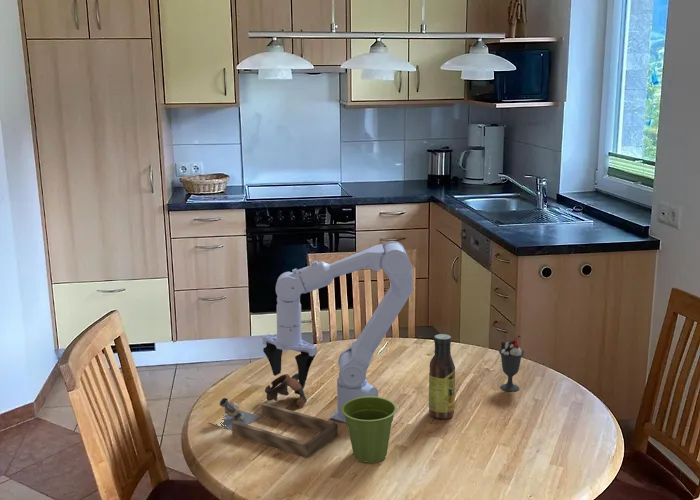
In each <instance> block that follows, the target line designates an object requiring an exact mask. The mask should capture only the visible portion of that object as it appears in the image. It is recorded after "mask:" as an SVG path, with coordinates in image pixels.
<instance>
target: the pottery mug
mask: <svg viewBox="0 0 700 500" xmlns="http://www.w3.org/2000/svg"><path fill="white" fill-rule="evenodd" d="M270 383H271V385H272V386H270V385H269V384H268V385H267V386H266V387H265V390H264V392H265V393H266V400H267V401H273V400H274V401H275V402H278V396H279V395H282V396H283V395H284V396H289V395H290V393H289V390H288V387H289V388H291V390H292V391H293V392H294V394H295V395H298V396H299V398H298V399H297V400H296V404H297V405H298V408H299V409H302V408H303V407H304V406H305V405H306V403H307V401H308V400H307V397H306V395H305V392H304V389H305V387H306V381H304V382H303V383H300V382H299V378H298V373H295V374H294V375H292V376H291V377H290V375H289V374H288V373H285V374H282V375H280V376H278V377H276V378H275V379H274V380H272V381H271V382H270Z"/></svg>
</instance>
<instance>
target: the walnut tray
mask: <svg viewBox="0 0 700 500" xmlns="http://www.w3.org/2000/svg"><path fill="white" fill-rule="evenodd" d="M261 415H262V416H261V417H264V416H265V418H268V419H271V420H275V421H279V422H282V423H285V424H289V425H293V426H295V427H298V428H302V429H306V430H309V431H312V432H315V433H318V434H316V435H315V436H313V437H312V438H311V439H310V440H308V441H306V442H304V441H301V440H298V439H295V438H291V437H288V436H284V435H282V434H279V433H275V432H272V431H268V430H266V429H263V428H259V427H257V426H256V427H255V426H252V425H250V424H249V425H246V424H243V423H240V422H237V421H234V422H232V430H231V432H232V433H231V434H233V435H232V436H235V435H236V437H239V438H242V439H246V440H249V441H251V442H254V441H255V442H254V443H257V442H258V444H260V445H263V444H264V446H266V447H270V448H273V447H274V448H273V449H276V448H277V449H276V450H279V449H280V450H281V451H282V450H283V451H282V452H285V451H286V452H287V453H288V452H289V454H291V455H296V456H298V457H302V458H304V459H309V458H310V457H312V456H313V455H314V454H316V453H317V452H318V451H319V450H320V449H322V448H323V447H325V446H326V445H327V444H329V443H330V442H331V441H333V440H334V439H335V438H336V437H338V435H339V434H338V431H339V429H338V427H339V425H338V423H337V422H333V421H329V420H326V419H322V418H319V417H315V416H311V415H308V414H304V413H302V412H297V411H294V410H290V409H287V408H284V407H280V406H276V405H273V404H268V403H266V402H264V403H262V404H261Z"/></svg>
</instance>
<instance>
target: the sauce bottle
mask: <svg viewBox="0 0 700 500" xmlns="http://www.w3.org/2000/svg"><path fill="white" fill-rule="evenodd" d="M433 337H434V338H433V342H434V351H433V352H434V355H433V357H432V358H431V359H430V362H429V373H428V412H429V415H430V416H431V417H432V418H434V419H438V420H439V419H440V420H446V419H450V418H452V417H453V416H454V414H455V408H456V407H455V402H456V401H455V400H456V366H455V364H454V361H453V357H452V354H451V353H452V352H451V343H452V336H451V335H449V334H445V333H439V334H435V335H434V336H433Z"/></svg>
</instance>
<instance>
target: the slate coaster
mask: <svg viewBox="0 0 700 500" xmlns="http://www.w3.org/2000/svg"><path fill="white" fill-rule="evenodd" d="M240 411H242V413H243V416H245V418H246V421H245V419H244V420H243V421H242V420H241V421H240V420H238V419H236V418H235V417H231V416H228V415H225V416H224V415H223V416H224V417H225V418H226V419H225V418H224V417H223V418H224V419H222V420H224V422H223V423H222V422H221V423H222V424H223V425H224V426H223V425H222V424H221V423H220V424H221V426H222V427H224V428H223V429H225V428H227V429H226V430H229V429H230V430H229V431H232V422H234V421H237V422H240V423H243V424H246V425H248V424H249V425H250V424H252V423H254V422H256V421H257V420H259V419H260V418H261V417H262V416H261V415H258V414H255V413H251V412H247V411H244V410H241V409H240ZM224 413H225V412H224ZM225 414H226V413H225ZM258 418H259V419H258ZM216 425H217V424H216ZM216 425H215V426H216ZM225 425H226V426H225ZM222 427H221V428H222Z"/></svg>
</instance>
